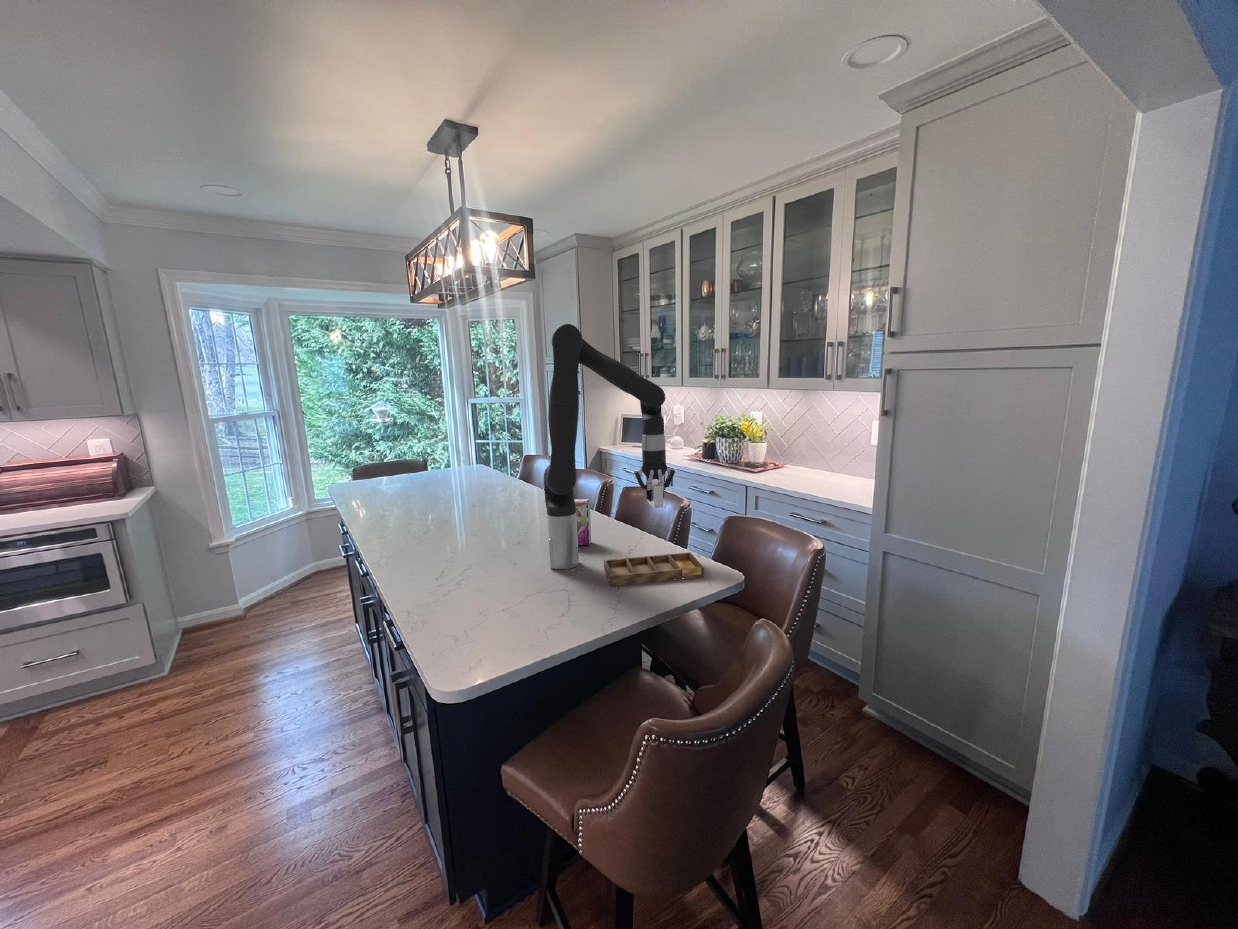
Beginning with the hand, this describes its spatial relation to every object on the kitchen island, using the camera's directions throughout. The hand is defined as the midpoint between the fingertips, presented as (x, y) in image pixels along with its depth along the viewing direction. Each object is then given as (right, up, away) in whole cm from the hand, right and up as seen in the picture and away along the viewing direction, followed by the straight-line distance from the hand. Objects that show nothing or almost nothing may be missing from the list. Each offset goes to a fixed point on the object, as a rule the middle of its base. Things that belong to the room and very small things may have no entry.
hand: (655, 500), depth 162 cm
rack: (-2, -21, -11) cm, 24 cm away
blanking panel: (0, -1, 0) cm, 1 cm away
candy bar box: (-28, -18, +19) cm, 38 cm away
